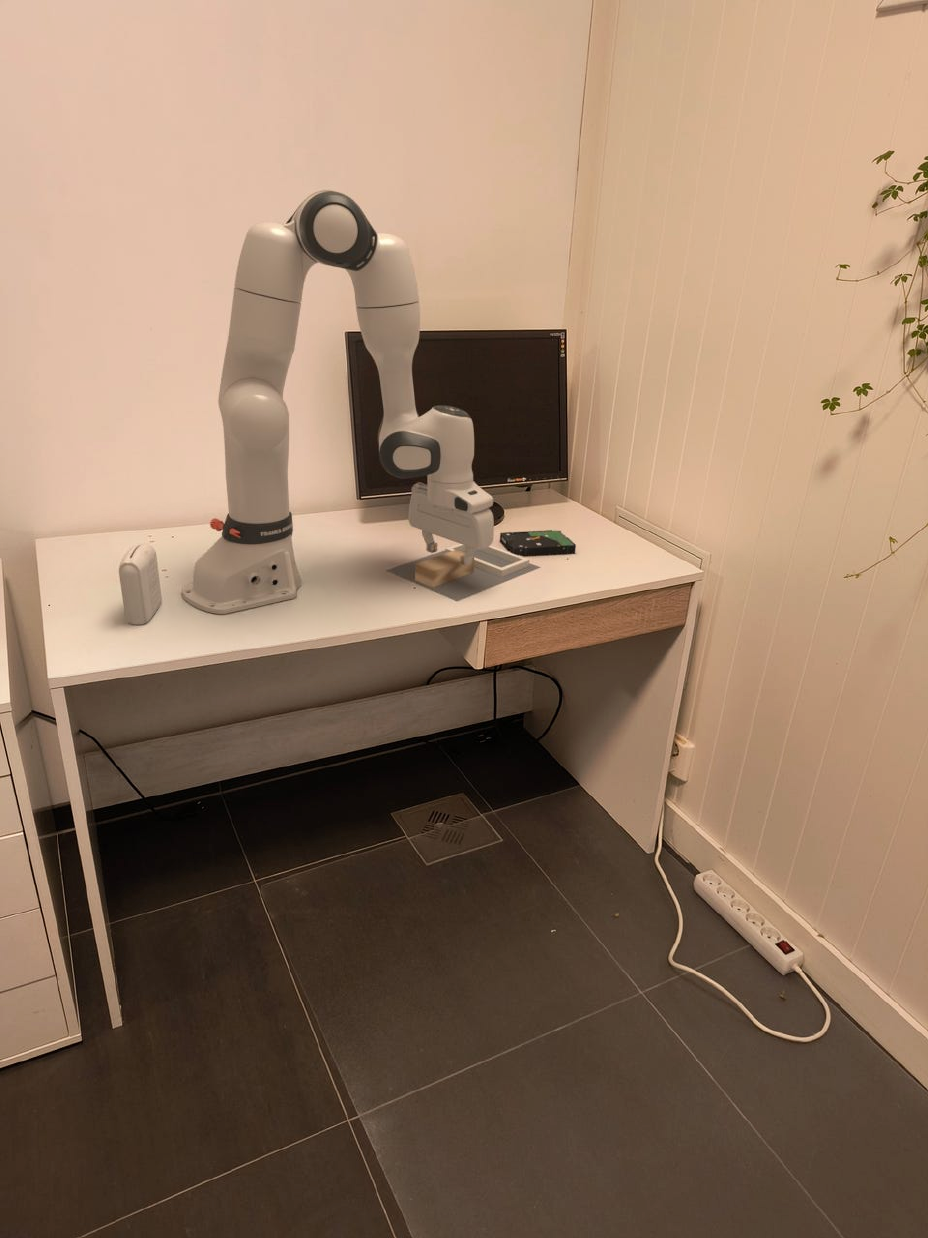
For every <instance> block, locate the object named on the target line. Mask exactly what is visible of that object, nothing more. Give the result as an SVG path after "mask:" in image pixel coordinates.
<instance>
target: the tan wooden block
mask: <svg viewBox="0 0 928 1238" xmlns="http://www.w3.org/2000/svg"><path fill="white" fill-rule="evenodd" d="M462 555H465V553H464V552H461V551H459V550H454V551H451V552H448V553H446V554H443V555H440V556H437V557H434V558H431V559H428V560H425V561H422V562H419V563H416V564H415V580H416V581H418V582H421V583H423V584H425V585H428V586H430V587H432V588H433V587H436V586H438V585H441V584H444V583H446V582H449V581H452V580H454V579H457V578H460V577H462V576H465V575H468V574H470V573H473V571H474V556H472V563H471V564H470V565H468V566H466V565H463V564H461V563H460V561H461V556H462Z"/></svg>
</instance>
